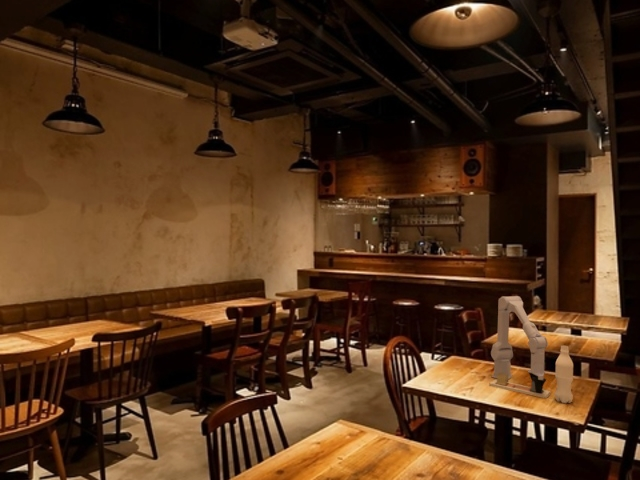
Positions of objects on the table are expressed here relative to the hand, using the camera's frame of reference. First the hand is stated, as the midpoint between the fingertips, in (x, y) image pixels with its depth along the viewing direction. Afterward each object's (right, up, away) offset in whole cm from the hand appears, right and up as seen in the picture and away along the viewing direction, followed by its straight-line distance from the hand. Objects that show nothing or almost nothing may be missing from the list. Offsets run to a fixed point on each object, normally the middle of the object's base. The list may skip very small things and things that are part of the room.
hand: (537, 390), depth 216 cm
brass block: (-12, -1, +10) cm, 16 cm away
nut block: (0, -1, 0) cm, 1 cm away
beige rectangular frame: (-6, -1, +5) cm, 8 cm away
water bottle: (+7, -2, -10) cm, 12 cm away
